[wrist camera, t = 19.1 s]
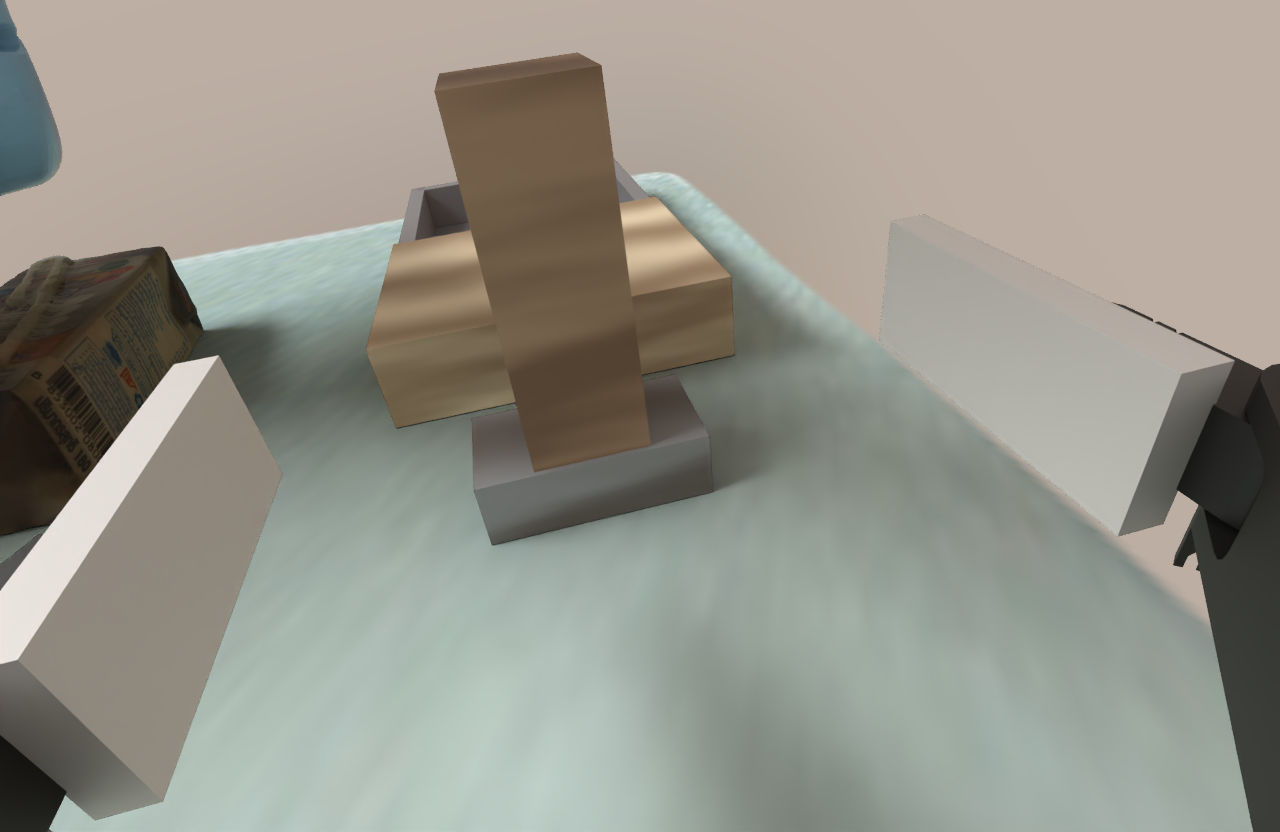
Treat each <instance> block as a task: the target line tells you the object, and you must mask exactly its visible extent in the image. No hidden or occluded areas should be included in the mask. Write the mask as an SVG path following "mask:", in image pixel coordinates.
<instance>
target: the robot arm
mask: <svg viewBox="0 0 1280 832" xmlns="http://www.w3.org/2000/svg"><path fill="white" fill-rule="evenodd" d="M61 160H62V146H61V141H60V137H59V133H58V129H57V126H56V123H55V120H54V117H53V114H52V111H51V108H50V106H49V103H48V100H47V98H46V95H45V92H44V90H43V87H42V85H41V82H40V80H39V77H38V75H37V73H36V70H35V68H34V66H33V63H32V61H31V59H30V57H29V54H28V52H27V50H26V48H25V47H24V45H23V43H22V41H21V40H20V39H19V38H18V36H17V30H16V27H15V25H14V22H13V21H12V18H11V16H10V14H9V11H8V8H7V5H6V2H5V0H0V196H2V195H5V194H9V193H12V192H16V191H20V190H23V189H27V188H31V187H34V186H38V185H40V184H43V183H45V182H47V181H48V180H50V179H51V178H52V177H53V176H54V175H55V174H56V172H57V171H58V169H59V167H60V164H61ZM885 275H886V276H885V286H884V295H883V306H882V316H881V317H882V318H881V327H880V337H879V341H880V342H881V343H883V344H884V345H885V346H886V347H887V348H889V349H890V350H891V351H892V352H894V353H895V354H896V355H897V356H898V357H900V358H901V359H902V360H903V361H905V362H906V363H907V364H908V365H909V366H911V367H912V368H913V369H914V370H915V371H917V372H918V373H919V374H920V375H922V376H923V377H924V378H925V379H926V380H928V381H929V382H930V383H931V384H932V385H934V386H935V387H936V388H937V389H939V390H940V391H941V392H942V393H943V394H945V395H946V396H947V397H948V398H950V399H951V400H952V401H953V402H954V403H956V404H957V405H958V406H959V407H960V408H962V409H963V410H964V411H965V412H967V413H968V414H969V415H970V416H971V417H973V418H974V419H975V420H976V421H977V422H979V423H980V424H981V425H982V426H984V427H985V428H986V429H987V430H988V431H990V432H991V433H992V434H993V435H995V436H996V437H997V438H998V439H999V440H1001V441H1002V442H1003V443H1004V444H1005V445H1007V446H1008V447H1009V448H1010V449H1012V450H1013V451H1014V452H1015V453H1016V454H1018V455H1019V456H1020V457H1021V458H1022V459H1024V460H1025V461H1026V462H1027V463H1029V464H1030V465H1031V466H1032V467H1033V468H1035V469H1036V470H1037V471H1038V472H1040V473H1041V474H1042V475H1043V476H1044V477H1046V478H1047V479H1048V480H1049V481H1050V482H1052V483H1053V484H1054V485H1055V486H1057V487H1058V488H1059V489H1060V490H1061V491H1063V492H1064V493H1065V494H1066V495H1067V496H1069V497H1070V498H1071V499H1072V500H1074V501H1075V502H1076V503H1077V504H1078V505H1080V506H1081V507H1082V508H1083V509H1085V510H1086V511H1087V512H1088V513H1089V514H1091V515H1092V516H1093V517H1094V518H1095V519H1097V520H1098V521H1099V522H1100V523H1102V524H1103V525H1104V526H1105V527H1106V528H1108V529H1109V530H1110V531H1111V532H1112V533H1114V534H1115V535H1116V536H1122V535H1125V534H1129V533H1132V532H1136V531H1140V530H1143V529H1146V528H1150V527H1154V526H1157V525H1161V524H1163V523H1164V521H1165V519H1166V516H1167V514H1168V512H1169V510H1170V507H1171V505H1172V503H1173V501H1174V498H1175V496H1176V494H1177V491H1180V492H1181V493H1183V494H1184V495H1185V496H1187V497H1188V498H1190V499H1191V500H1193V501H1194V502H1196V503H1197V504H1198V508H1197V510H1196V512H1195V514H1194V516H1193V518H1192V520H1191V523H1190V525H1189V527H1188V529H1187V531H1186V533H1185V535H1184V538H1183V540H1182V542H1181V544H1180V546H1179V548H1178V550H1177V552H1176V555H1175V559H1174V564H1173V565H1175V566H1179V567H1183V565H1184V563H1185V561H1186V559H1187V557H1188V556H1189V555H1191V554H1193V553H1195V552H1196V555H1197V559H1198V566H1197V568H1196V570H1198V571H1200V574H1201V579H1202V584H1203V588H1204V593H1205V598H1206V603H1207V608H1208V613H1209V618H1210V623H1211V628H1212V633H1213V637H1214V642H1215V647H1216V652H1217V657H1218V662H1219V667H1220V672H1221V677H1222V681H1223V686H1224V691H1225V696H1226V701H1227V706H1228V711H1229V716H1230V720H1231V725H1232V730H1233V735H1234V740H1235V745H1236V750H1237V755H1238V759H1239V764H1240V769H1241V774H1242V779H1243V784H1244V789H1245V794H1246V799H1247V803H1248V808H1249V813H1250V818H1251V823H1252V828H1253V832H1280V364H1276V365H1271V366H1270V367H1268V368H1266V369H1265V370H1261V369H1259V368H1257V367H1255V366H1253V365H1250V364H1248V363H1246V362H1244V361H1242V360H1240V359H1238V358H1236V357H1233V356H1231V355H1229V354H1227V353H1225V352H1223V351H1221V350H1218V349H1216V348H1214V347H1212V346H1210V345H1208V344H1206V343H1203V342H1201V341H1199V340H1197V339H1195V338H1192V337H1191V336H1188V335H1186V334H1184V333H1179V334H1177V332H1176V329H1173V328H1171V327H1169V326H1167V325H1165V324H1163V323H1161V322H1155V323H1154V322H1153V319H1152V318H1150V317H1148V316H1146V315H1144V314H1141V313H1139V312H1137V311H1135V310H1133V309H1131V308H1128V307H1126V306H1124V305H1120V304H1116V303H1112V302H1109V301H1107V300H1105V299H1103V298H1101V297H1099V296H1097V295H1095V294H1093V293H1090V292H1088V291H1086V290H1084V289H1082V288H1080V287H1078V286H1075V285H1073V284H1071V283H1069V282H1067V281H1065V280H1063V279H1060V278H1059V277H1056V276H1054V275H1052V274H1050V273H1048V272H1046V271H1044V270H1042V269H1040V268H1037V267H1035V266H1033V265H1031V264H1029V263H1026V262H1025V261H1023V260H1020V259H1018V258H1016V257H1014V256H1012V255H1010V254H1008V253H1005V252H1004V251H1001V250H999V249H997V248H995V247H993V246H991V245H989V244H987V243H984V242H982V241H980V240H978V239H976V238H974V237H971V236H969V235H967V234H965V233H963V232H961V231H959V230H957V229H955V228H953V227H950V226H948V225H946V224H944V223H942V222H940V221H938V220H936V219H933V218H931V217H929V216H927V215H925V214H924V215H919V216H914V217H910V218H904V219H900V220H894V221H891V222H890V233H889V243H888V254H887V264H886V274H885ZM281 477H282V472H281V470H280V469H279V467H278V465H277V463H276V461H275V459H274V457H273V456H272V454H271V452H270V450H269V448H268V446H267V444H266V442H265V441H264V439H263V437H262V435H261V433H260V431H259V429H258V427H257V426H256V424H255V422H254V420H253V418H252V416H251V414H250V413H249V411H248V409H247V407H246V405H245V403H244V401H243V399H242V398H241V396H240V394H239V392H238V390H237V388H236V386H235V385H234V383H233V381H232V379H231V377H230V375H229V373H228V371H227V370H226V368H225V366H224V364H223V362H222V360H221V358H220V356H219V355H218V356H213V357H208V358H203V359H198V360H193V361H188V362H183V363H178V364H174V365H173V366H172V367H171V369H170V370H169V371H168V373H167V374H166V375H165V376H164V378H163V379H162V380H161V382H160V383H159V384H158V386H157V387H156V388H155V390H154V391H153V392H152V393H151V395H150V396H149V397H148V399H147V400H146V401H145V403H144V404H143V405H142V406H141V408H140V409H139V410H138V412H137V413H136V414H135V416H134V417H133V418H132V420H131V421H130V422H129V423H128V425H127V426H126V427H125V429H124V430H123V431H122V433H121V434H120V435H119V436H118V438H117V439H116V440H115V442H114V443H113V444H112V446H111V447H110V448H109V450H108V451H107V452H106V453H105V455H104V456H103V457H102V459H101V460H100V461H99V463H98V464H97V465H96V467H95V468H94V469H93V470H92V472H91V473H90V474H89V476H88V477H87V478H86V480H85V481H84V482H83V483H82V485H81V486H80V487H79V489H78V490H77V491H76V493H75V494H74V495H73V497H72V498H71V499H70V500H69V502H68V503H67V504H66V506H65V507H64V508H63V510H62V511H61V512H60V513H59V515H58V516H57V517H56V519H55V520H54V521H53V523H52V524H51V525H50V527H49V528H48V529H47V530H46V532H45V533H44V534H39V535H37V536H36V537H35V538H33V539H32V540H31V541H30V542H28V543H27V544H26V545H25V546H23V547H22V548H21V549H20V550H18V551H17V552H16V553H15V554H13V555H12V556H11V557H10V558H8V559H7V560H6V561H5V562H4V563H2V564H1V565H0V832H52V831H51V830H50V829H49V827H50V825H51V823H52V821H53V819H54V817H55V815H56V813H57V811H58V809H59V807H60V805H61V803H62V801H63V799H64V797H65V795H66V796H67V797H68V798H69V799H71V800H72V801H73V802H74V803H75V804H76V805H78V806H79V807H80V808H81V809H82V810H83V811H85V812H86V813H87V814H88V815H89V816H91V817H92V818H93V819H94V820H98V819H102V818H105V817H109V816H112V815H116V814H120V813H123V812H127V811H131V810H134V809H138V808H141V807H145V806H149V805H152V804H156V803H159V802H163V800H164V797H165V795H166V792H167V789H168V787H169V784H170V781H171V778H172V776H173V773H174V770H175V767H176V765H177V762H178V759H179V756H180V754H181V751H182V748H183V745H184V743H185V740H186V737H187V734H188V732H189V729H190V726H191V723H192V721H193V718H194V715H195V713H196V710H197V707H198V704H199V702H200V699H201V696H202V693H203V691H204V688H205V685H206V682H207V680H208V677H209V674H210V671H211V669H212V666H213V663H214V660H215V658H216V655H217V652H218V649H219V647H220V644H221V641H222V639H223V636H224V633H225V630H226V628H227V625H228V622H229V619H230V617H231V614H232V611H233V608H234V606H235V603H236V600H237V597H238V595H239V592H240V589H241V586H242V584H243V581H244V578H245V575H246V573H247V570H248V567H249V565H250V562H251V559H252V556H253V554H254V551H255V548H256V545H257V543H258V540H259V537H260V534H261V532H262V529H263V526H264V523H265V521H266V518H267V515H268V512H269V510H270V507H271V504H272V501H273V499H274V496H275V493H276V491H277V488H278V485H279V482H280V480H281Z"/></svg>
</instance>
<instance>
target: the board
mask: <svg viewBox="0 0 1280 832" xmlns="http://www.w3.org/2000/svg"><path fill="white" fill-rule="evenodd" d="M619 204H620V212H621V219H622V227H623V235H624V242H625V250H626V258H627V265H628V273H629V280H630V288H631V296H632V303H633V311H634V319H635V326H636V334H637V342H638V349H639V357H640V365H641V372H642V375H644V374H648V373H653V372H657V371H662V370H667V369H671V368H676V367H681V366H685V365H690V364H694V363H699V362H704V361H708V360H713V359H718V358H722V357H727V356H731V355H735V354H734V329H733V303H732V278H731V275H730V274H729V273H728V272H727V271H726V270H725V269H724V268H723V267H722V266H721V265H720V264H719V263H718V262H717V261H716V260H715V259H714V257H713V256H712V255H711V254H710V253H709V252H708V251H707V250H706V249H705V248H704V247H703V246H702V245H701V244H700V243H699V242H698V241H697V240H696V238H695V237H694V236H693V235H692V234H691V233H690V232H689V231H688V230H687V229H686V228H685V227H684V226H683V225H682V224H681V223H680V222H679V221H678V220H677V218H676V217H675V216H674V215H673V214H672V213H671V212H670V211H669V210H668V209H667V208H666V207H665V206H664V205H663V204H662V203H661V202H660V201H659V199H658V198H657V197H650V198H645V199H639V200H634V201H628V202H623V203H619ZM366 352H367V355H368V357H369V360H370V363H371V365H372V368H373V370H374V373H375V375H376V378H377V380H378V383H379V386H380V388H381V391H382V393H383V396H384V398H385V401H386V403H387V406H388V408H389V411H390V414H391V416H392V419H393V421H394V424H395V426H396V428H399V427H403V426H408V425H412V424H417V423H422V422H426V421H431V420H436V419H440V418H445V417H449V416H454V415H459V414H463V413H468V412H473V411H477V410H482V409H486V408H491V407H496V406H500V405H505V404H510V403H514V402H516V401H515V398H514V394H513V390H512V386H511V382H510V378H509V375H508V371H507V367H506V363H505V359H504V355H503V352H502V348H501V344H500V340H499V336H498V332H497V329H496V325H495V321H494V317H493V313H492V310H491V306H490V302H489V298H488V294H487V290H486V287H485V283H484V279H483V275H482V271H481V267H480V264H479V260H478V256H477V252H476V248H475V244H474V241H473V237H472V233H471V230H470V231H464V232H459V233H453V234H448V235H442V236H437V237H431V238H426V239H421V240H415V241H410V242H404V243H399V244H394V245H393V248H392V252H391V256H390V260H389V263H388V267H387V271H386V275H385V279H384V282H383V286H382V290H381V294H380V297H379V301H378V305H377V309H376V312H375V316H374V320H373V324H372V327H371V331H370V335H369V339H368V343H367V346H366Z"/></svg>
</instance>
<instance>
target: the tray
mask: <svg viewBox="0 0 1280 832" xmlns="http://www.w3.org/2000/svg"><path fill="white" fill-rule="evenodd" d="M614 166H615V173H616V181H617V189H618V196H619V203H623V202H628V201H634V200H639V199H645V198H650V197H649V196H648V195H647V194H646V193H645V192H644V191H643V189H642V188H641V187H640V186H639V185H638V184H637V183H636V182H635V181H634V180H633V178H632V177H631V176H630V175H629V174H628V173H627V172H626V171H625V170H624V169H623V168H622V167H621V166H620V164H619V163H618V162H617V161H616V160H615V159H614ZM470 230H471V229H470V225H469V222H468V218H467V214H466V210H465V206H464V202H463V199H462V195H461V191H460V187H459V183H458V181H457V182H452V183H446V184H440V185H434V186H429V187H423V188H417V189H412V191H411V195H410V199H409V203H408V207H407V211H406V215H405V219H404V223H403V227H402V231H401V235H400V239H399V243H404V242H410V241H415V240H421V239H426V238H431V237H437V236H442V235H448V234H453V233H459V232H464V231H470ZM399 243H398V244H399Z"/></svg>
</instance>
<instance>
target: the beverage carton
mask: <svg viewBox="0 0 1280 832" xmlns="http://www.w3.org/2000/svg"><path fill="white" fill-rule="evenodd" d="M203 332H204V331H203V327H202V324H201V322H200V320H199V317H198V315H197V309H196V307H195V305H194V304H193V302H192V300H191V298H190V296H189V294H188V292H187V290H186V288H185V286H184V284H183V282H182V281H181V279H180V278H179V276H178V274H177V272H176V270H175V268H174V266H173V264H172V262H171V260H170V258H169V256H168V254H167V252H166V251H165V249H164V248H163V247H151V248H141V249H137V250H131V251H125V252H119V253H113V254H108V255H104V256H98V257H91V258H83V259H78V260H71V259H69V258H68V257H65V256H52V257H48V258H44V259H43V260H40V261H37V262H36V263H34V264H33V265H31V267H30V268H29V269H27V270H25V271H23V272H22V273H20V274H18V275H17V276H16V277H15V278H13V279H11V280H10V281H8V282H7V283H5V284H4V285H3V286H2V287H0V535H5V534H9V533H12V532H15V531H20V530H24V529H28V528H31V527H35V526H40V525H46V524H51V523H53V521H54V520H55V519H56V517H57V516H58V515H59V513H60V512H61V511H62V510H63V508H64V507H65V506H66V504H67V503H68V502H69V500H70V499H71V498H72V497H73V495H74V494H75V493H76V491H77V490H78V489H79V487H80V486H81V485H82V483H83V482H84V481H85V480H86V478H87V477H88V476H89V474H90V473H91V472H92V470H93V469H94V468H95V467H96V465H97V464H98V463H99V461H100V460H101V459H102V457H103V456H104V455H105V453H106V452H107V451H108V450H109V448H110V447H111V446H112V444H113V443H114V442H115V440H116V439H117V438H118V436H119V435H120V434H121V433H122V431H123V430H124V429H125V427H126V426H127V425H128V423H129V422H130V421H131V420H132V418H133V417H134V416H135V414H136V413H137V412H138V410H139V409H140V408H141V406H142V405H143V404H144V403H145V401H146V400H147V399H148V397H149V396H150V395H151V393H152V392H153V391H154V390H155V388H156V387H157V386H158V384H159V383H160V382H161V380H162V379H163V378H164V376H165V375H166V374H167V373H168V371H169V370H170V369H171V367H172V366H173V365H174V364H178V363H183V362H186V361H187V360H188V358H189V357H190V354H191V353H192V350H193V348H194V346H195V345H196V343H197V341H198V340H199V338H200V336H201V334H202V333H203Z"/></svg>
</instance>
